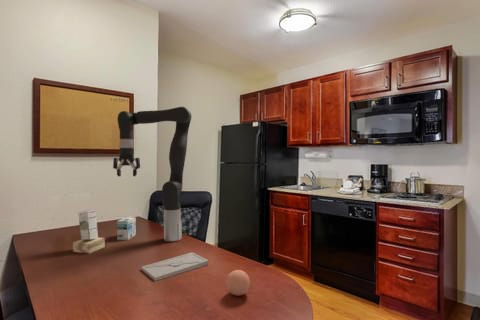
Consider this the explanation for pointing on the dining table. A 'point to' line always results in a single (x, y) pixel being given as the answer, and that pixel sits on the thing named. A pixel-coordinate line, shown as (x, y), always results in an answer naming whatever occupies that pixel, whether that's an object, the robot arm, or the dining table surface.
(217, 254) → the dining table surface
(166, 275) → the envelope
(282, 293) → the dining table surface
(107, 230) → the dining table surface
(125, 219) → the light bulb box
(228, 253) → the dining table surface
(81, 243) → the maple block
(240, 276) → the toy ball
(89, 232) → the syrup box
